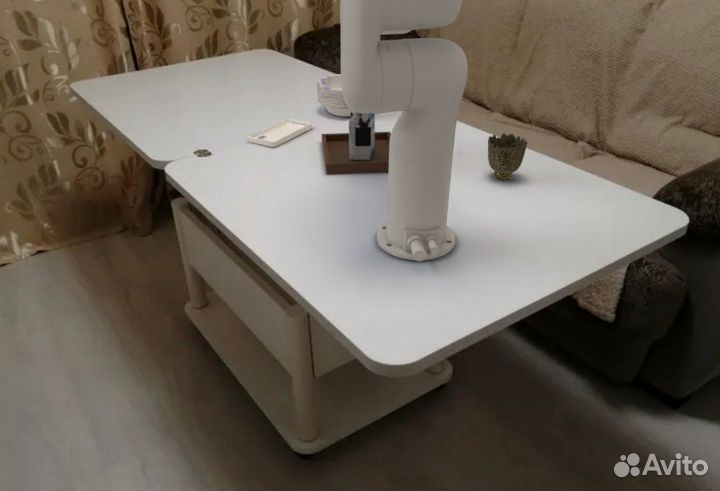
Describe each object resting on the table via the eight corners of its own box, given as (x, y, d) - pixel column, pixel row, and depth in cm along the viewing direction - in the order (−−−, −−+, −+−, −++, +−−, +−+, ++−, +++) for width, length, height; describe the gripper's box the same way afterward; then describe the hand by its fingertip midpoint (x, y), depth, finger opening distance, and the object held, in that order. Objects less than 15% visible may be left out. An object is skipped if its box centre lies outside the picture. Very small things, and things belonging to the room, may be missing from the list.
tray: (403, 171, 121) (403, 161, 120) (326, 174, 119) (326, 164, 118) (389, 140, 136) (390, 131, 135) (321, 143, 134) (321, 133, 133)
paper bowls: (385, 116, 150) (386, 85, 146) (329, 124, 146) (328, 91, 142) (363, 100, 163) (363, 70, 159) (310, 106, 158) (309, 76, 154)
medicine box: (370, 161, 124) (370, 121, 119) (349, 160, 124) (348, 120, 120) (375, 147, 130) (375, 109, 126) (354, 146, 131) (354, 108, 127)
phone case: (273, 147, 132) (312, 128, 143) (273, 142, 131) (312, 122, 142) (248, 141, 135) (287, 123, 146) (247, 136, 134) (287, 117, 145)
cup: (493, 187, 114) (498, 148, 110) (477, 172, 120) (481, 134, 116) (528, 183, 116) (534, 144, 112) (510, 168, 122) (515, 131, 118)
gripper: (386, 64, 110) (383, 152, 118) (374, 44, 124) (372, 123, 133) (345, 65, 109) (346, 153, 118) (338, 44, 124) (339, 124, 133)
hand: (360, 137), depth 125 cm, fingers closed on medicine box, 8 cm apart
